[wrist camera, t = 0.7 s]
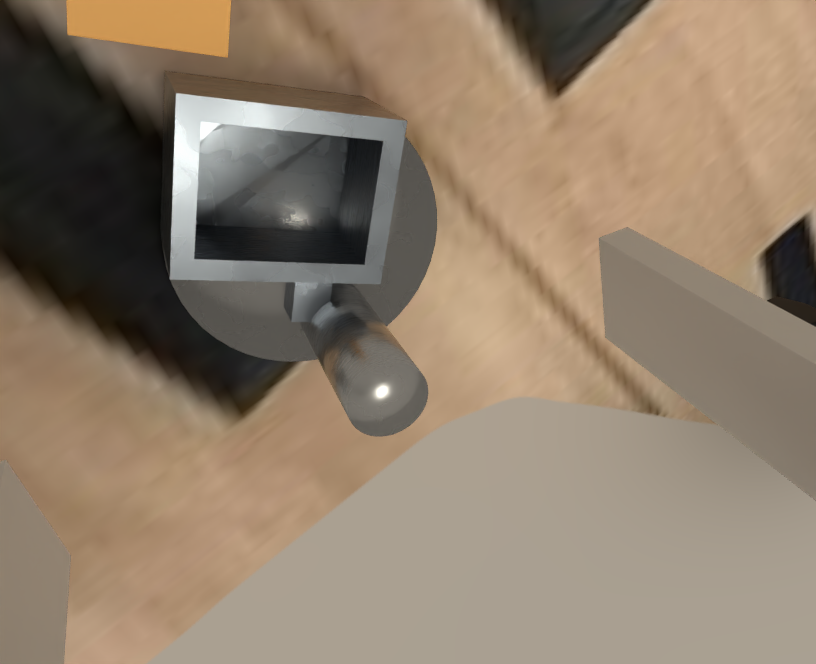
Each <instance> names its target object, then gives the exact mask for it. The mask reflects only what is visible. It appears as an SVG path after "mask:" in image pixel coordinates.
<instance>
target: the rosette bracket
mask: <svg viewBox="0 0 816 664" xmlns="http://www.w3.org/2000/svg"><path fill="white" fill-rule="evenodd" d="M406 126H407V120H405V119H403V118H401V117H399V116H398V115H396V114H394V113H392V112H390V111H389V110H387V109H385V108H383V107H381V106H380V105H378V104H376V103H374V102H372V101H371V100H369V99H367V98H365V97H361V96H353V95H346V94H338V93H330V92H323V91H315V90H308V89H300V88H292V87H285V86H277V85H269V84H262V83H254V82H247V81H239V80H231V79H224V78H216V77H208V76H201V75H193V74H185V73H178V72H170V71H165V72H164V110H163V147H162V184H161V221H160V234H161V242H162V247H163V253H164V258H165V263H166V268H167V271H168V274H169V278H170V280H171V283H172V286H173V288H174V289H175V291H176V293H177V295H178V297H179V299H180V301H181V302H182V304H183V305H184V307H185V308H186V309H187V311H188V312H189V314H190V315H191V316H192V317H193V318H194V319H195V320H196V321H197V322H198V324H199V325H200V326H201V327H202V328H203V329H205V330H206V331H207V332H208V333H210V334H211V335H212V336H214V337H215V338H216V339H218V340H219V341H221V342H223V343H224V344H226V345H228V346H229V347H231V348H234V349H236V350H238V351H241V352H243V353H245V354H249V355H252V356H256V357H259V358H263V359H270V360H276V361H307V360H315V359H318V360H319V362H320V364H321V366H322V368H323V370H324V372H325V374H326V376H327V377H328V379H329V381H330V383H331V385H332V387H333V389H334V391H335V393H336V395H337V396H338V398H339V400H340V402H341V404H342V406H343V408H344V410H345V412H346V414H347V415H348V417H349V419H350V421H351V423H352V424H353V425H354V427H355V428H356V429H358V430H359V431H360V432H362V433H364V434H367V435H370V436H388V435H392V434H395V433H398V432H400V431H402V430H404V429H405V428H407V427H408V426H410V425H411V424H412V423H413V422H414V421H415V420H416V419H417V418H418V417H419V416H420V414H421V413H422V411H423V409H424V407H425V405H426V402H427V398H428V385H427V382H426V379H425V378H424V376H423V375H422V373H421V372H420V371H419V369H418V368H417V367H416V365H415V364H414V363H413V361H412V360H411V359H410V357H409V356H408V355H407V353H406V352H405V351H404V349H403V348H402V347H401V345H400V344H399V343H398V341H397V340H396V339H395V337H394V336H393V335H392V333H391V332H390V331H389V329H388V328H387V327H386V326H387V325H388V324H389V323H391V322H392V321H393V320H394V319H395V318H396V317H397V316H398V315H399V314H400V313H401V311H402V310H403V309H404V308H405V307H406V306H407V304H408V303H409V302H410V300H411V299H412V297H413V296H414V294H415V293H416V291H417V290H418V288H419V286H420V284H421V282H422V280H423V278H424V277H425V274H426V272H427V269H428V266H429V264H430V261H431V258H432V254H433V250H434V246H435V239H436V231H437V209H436V201H435V195H434V191H433V187H432V183H431V180H430V177H429V175H428V172H427V170H426V168H425V165H424V163H423V162H422V160H421V158H420V156H419V155H418V153H417V151H416V150H415V148H414V147H413V146H412V145H411V143H410V142H409V141H408V140H407V138H406V137H405V132H406Z"/></svg>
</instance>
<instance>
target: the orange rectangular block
mask: <svg viewBox="0 0 816 664" xmlns="http://www.w3.org/2000/svg"><path fill="white" fill-rule="evenodd" d="M230 11H231V0H67V35H73V36H80V37H87V38H94V39H101V40H108V41H115V42H122V43H129V44H136V45H143V46H150V47H157V48H164V49H171V50H178V51H185V52H192V53H199V54H206V55H213V56H220V57H227V58H228V44H229V28H230Z"/></svg>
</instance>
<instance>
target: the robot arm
mask: <svg viewBox="0 0 816 664" xmlns="http://www.w3.org/2000/svg"><path fill="white" fill-rule="evenodd" d="M599 250H600V264H601V279H602V294H603V309H604V323H605V338H607V339H608V340H609V341H611V342H612V343H613V344H614V345H616V346H617V347H618V348H620V349H621V350H622V351H623V352H625V353H626V354H627V355H629V356H630V357H631V358H632V359H634V360H635V361H636V362H638V363H639V364H640V365H641V366H643V367H644V368H645V369H647V370H648V371H649V372H650V373H652V374H653V375H654V376H656V377H657V378H658V379H659V380H661V381H662V382H663V383H665V384H666V385H667V386H668V387H670V388H671V389H672V390H674V391H675V392H676V393H677V394H679V395H680V396H681V397H683V398H684V399H685V400H687V401H688V402H689V403H690V404H692V405H693V406H694V407H696V408H697V409H698V410H699V411H701V412H702V413H703V414H705V415H706V416H707V417H708V418H710V419H711V420H712V421H714V422H715V423H716V424H717V425H719V426H720V427H721V428H723V429H724V430H725V431H727V432H728V433H729V434H730V435H732V436H733V437H734V438H735V439H737V440H738V441H739V442H741V443H742V444H743V445H744V446H746V447H747V448H748V449H750V450H751V451H752V452H754V453H755V454H756V455H757V456H759V457H760V458H761V459H763V460H764V461H765V462H766V463H768V464H769V465H770V466H771V467H773V468H774V469H775V470H777V471H778V472H779V473H781V474H782V475H783V476H784V477H786V478H787V479H788V480H789V481H791V482H792V483H793V484H795V485H796V486H797V487H798V488H800V489H801V490H802V491H804V492H805V493H806V494H808V495H809V496H810V497H811V498H813V499H814V500H815V501H816V309H815V308H813V307H811V306H809V305H807V304H805V303H801V302H797V301H793V300H788V299H784V298H780V297H774V298H772V299H770V300H767V301H766V300H764V299H762V298H760V297H758V296H756V295H755V294H753V293H751V292H749V291H747V290H745V289H743V288H741V287H739V286H738V285H736V284H734V283H732V282H730V281H728V280H726V279H724V278H722V277H721V276H719V275H717V274H715V273H713V272H711V271H709V270H707V269H705V268H704V267H702V266H700V265H698V264H696V263H694V262H692V261H690V260H689V259H687V258H685V257H683V256H681V255H679V254H677V253H675V252H673V251H672V250H670V249H668V248H666V247H664V246H662V245H660V244H658V243H656V242H655V241H653V240H651V239H649V238H647V237H645V236H643V235H641V234H640V233H638V232H636V231H634V230H632V229H630V228H628V227H626V228H624V229H621V230H618V231H616V232H613V233H610V234H608V235H605V236H602V237H600V238H599ZM70 562H71V555H70V553H69V552H68V550H67V549H66V547H65V546H64V544H63V543H62V541H61V540H60V538H59V537H58V535H57V534H56V533H55V531H54V530H53V528H52V527H51V525H50V524H49V522H48V521H47V519H46V518H45V516H44V515H43V513H42V512H41V511H40V509H39V508H38V506H37V505H36V503H35V502H34V500H33V499H32V497H31V496H30V494H29V493H28V491H27V490H26V489H25V487H24V486H23V484H22V483H21V481H20V480H19V478H18V477H17V475H16V474H15V472H14V471H13V469H12V468H11V466H10V465H9V464H8V462H7V461H6V460H4V461H1V462H0V664H64V654H65V639H66V623H67V608H68V593H69V577H70Z"/></svg>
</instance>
